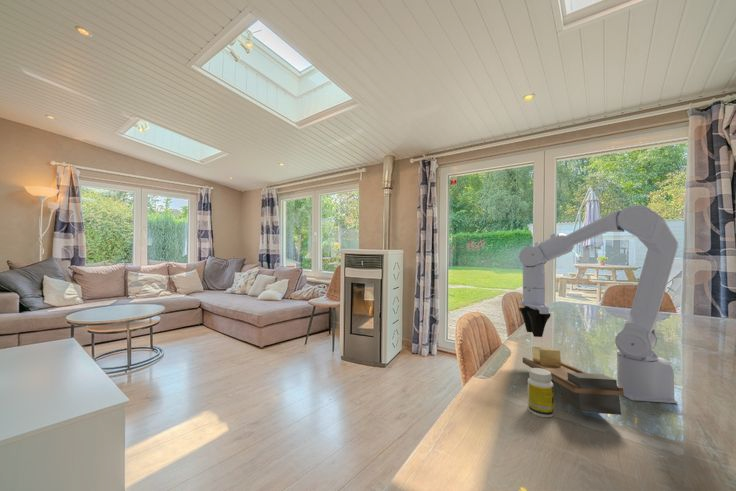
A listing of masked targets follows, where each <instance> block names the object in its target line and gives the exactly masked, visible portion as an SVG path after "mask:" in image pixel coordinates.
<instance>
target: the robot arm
mask: <svg viewBox="0 0 736 491" xmlns="http://www.w3.org/2000/svg"><path fill="white" fill-rule="evenodd" d="M625 231H626V232H627V233H629V234H631V235H633V236H635V237H636V238H637V239H638V241H640V242H641V243H642V244H643V245H644V247H646V248H647V250H646V254H645V258H644V261H643V265H642V269H641V273H640V276H639V280H638V283H637V287H636V290H635V294H634V298H633V301H632V303H631V304H632V305H631V307H630V308H631V309H630V310H629V314H628V316H627V319H626V321H625V323H624V327H623V329H622V330H621V331H620V332H618V333H617V335H616V336H615V339H614V340H615V341H614V342H615V346H616V348H617V350H616V370H617V371H616V372H617V374H616V376H617V379H616V381H617V386H620V387H622V388H623V392H624V396H623V397H625V398H627V399H628V400H631V401H636V402H653V403H668V404H678V400H676V399H675V373H674V369H673V367H672V365H671V363H670V362H669V361H668V360H667V359H666V358H664V357H661V356H658V355H657V354H656V353H655V352H654V351H653V350H654V348H655V347H656V346H657V344H658V337H657V334H656V327H657V320H658V316H659V313H660V309H661V305H662V303H663V299H664V296H665V292H666V289H667V285H668V282H669V278H670V274H671V271H672V268H673V264H674V261H675V258H676V255H677V251H678V248H679V242H678V240H677V239H676V237H675V235H674V233H673V232H672V230H671V229H670V227H669V225H668V223H667V222H666V219H665V218H663V217H662V216H661V215H660V214H658V213H657V212H656V211H654V210H652V209H651V208H649V207H648V206H646V205H642V204H632V205H629V206H626V207H625V208H623V209H622V210H620V209H619V210H616V211H613V212H610V213H609V214H607V215H604V216H602V217H600V218H598V219H596V220H594V221H593V222H590V223H588V224H586V225H584V226H582V227H580V228H578V229H576V230H575V231H573V232H571V233H569V234H568V233H567V234H565V233H562V232H559V233H552V234H550V237H549V238H546V239H545V240H543V241H541V242H540V241H537V242H535V243H534V246H532V245H527V246H525V247H524V248H523V249H521V250H520V252H519V256H518V257H519V261H520V263H521V264H522V298H521V301H518V305H520V306H523V307H519V308H518V310H519V312H520V313H521V316H522V318H523V322H524V326H525V330H526V332H527V333H532V335H533V337H535V338H543V335H544V332H545V328H546V324H547V322H548V320H549V319H550V318H551V313H550V312H549V306H547V303H546V276H545V275H546V272H545V265H546V264H547V262H551V261H552V260H555V259H557V258H559V257H562V256H564V255H567V254H569V253H571V252H573V249H574V247H575V246H576V245H578V244H580V243H583V242H585V241H587V240H591V239H593V238H596V237H598V236H601V235H604V234H607V233H625Z"/></svg>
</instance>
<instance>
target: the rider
mask: <svg viewBox="0 0 736 491" xmlns="http://www.w3.org/2000/svg"><path fill="white" fill-rule="evenodd" d="M531 352H532V353H531V354H532V355H531V356H532V360H533V362H535V363H537V364H539V365H540V366H552V367H561V362H562V360H561V351H560V350H558V349H556V348H553V347H546V346H545V347H544V346H543V347H542V346H532V347H531Z"/></svg>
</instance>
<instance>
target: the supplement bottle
mask: <svg viewBox="0 0 736 491" xmlns="http://www.w3.org/2000/svg"><path fill="white" fill-rule="evenodd" d="M528 372H529V373H528V376H529V377H528V378H527V382H528V385H527V410H528V411H529V412H530V413H532V415H535V416H537V417H541V418H551V417H553V416H554V414H555V404H554V403H555V401H554V400H555V399H554V397H555V395H554V390H555V389H554V388H555V386H554V383H553V382H552V378H551V372H550V371H548V370H545V369H541V368H531V367H530V368H529V370H528Z"/></svg>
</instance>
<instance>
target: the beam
mask: <svg viewBox="0 0 736 491" xmlns="http://www.w3.org/2000/svg"><path fill="white" fill-rule="evenodd" d="M522 364H524V365H526V366H528V367H529V368H530V369H531V368H541V369H545V370H548V371H550V372H551V378H552V379H551V381H554V382H555V383H557V384H559V394H560V395H559V396H560V399H561V400H563V401H564V402H566V403H567V404H568V405H570V406H571V407H573V408H574V409H576V410H577V411H579V412H580V413H590V414H593V413H594V414H605V415H616V416H617V415H618V416H619V415H620V416H621V415H622V408H621V398H620V397H621V396H622V397H625V396H624V392H623V388H622V387H620V386H617V384H618V381H617V379H615V378H613V377H610V376H608V375H605V374H603V373H590V372H589V373H588V372H586V371H584V370H581V369H579V368H577V367H575V366H572V365H570V364H568V363H565V362H562V361H561V367H552V366H540V365H539V364H537V363H535V362H533V359H528V358H526V357H522Z"/></svg>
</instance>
